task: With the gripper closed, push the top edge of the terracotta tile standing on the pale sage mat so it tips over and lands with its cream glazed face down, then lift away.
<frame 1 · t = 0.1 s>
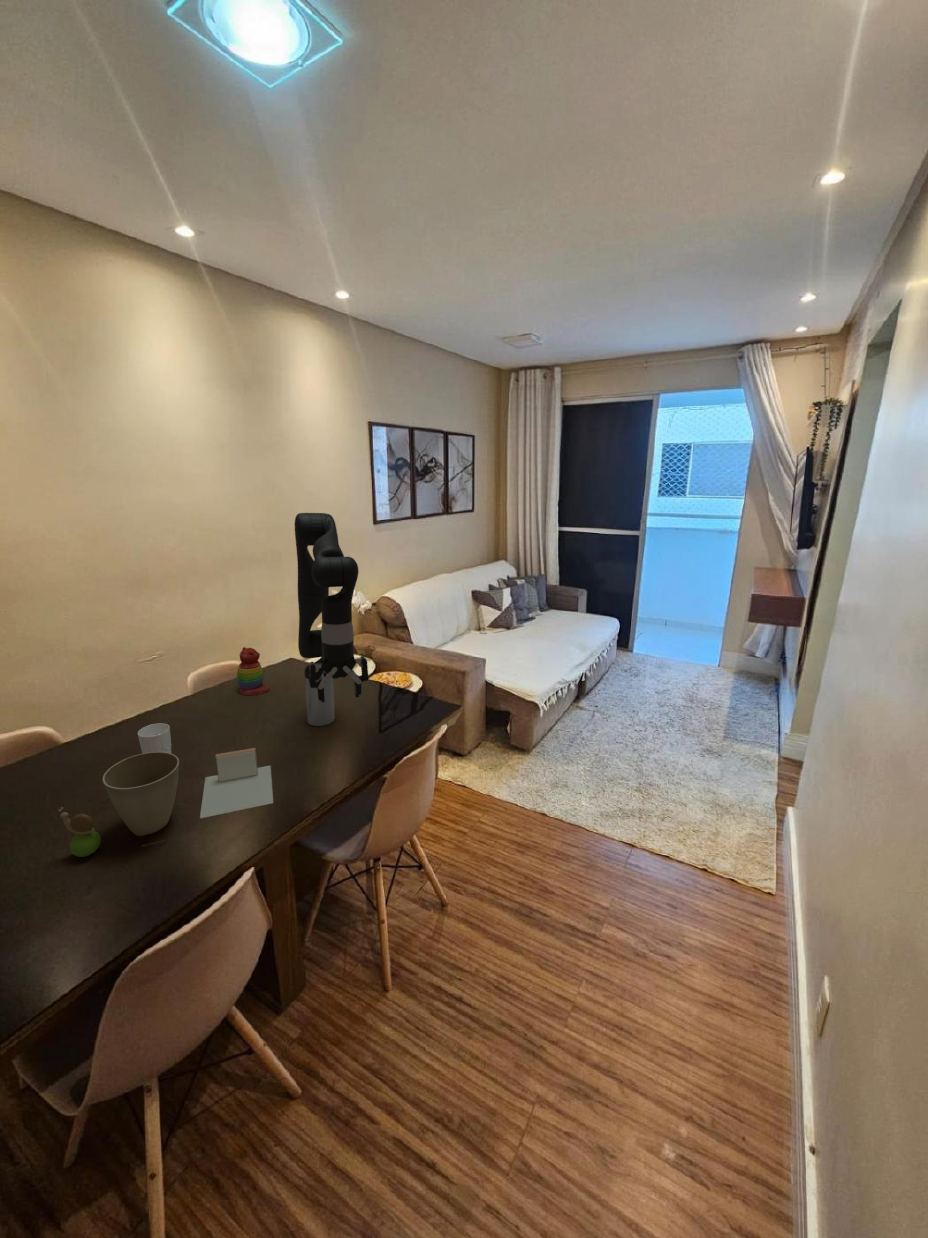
hand: (339, 698, 121), 29 cm above the table, fingers open, 8 cm apart
stacking bear: (252, 690, 189), on the table
tile: (238, 777, 135), point 1 cm above the table, touching mat
snail figurine: (85, 854, 107), on the table
white cup: (158, 760, 142), on the table
mat: (238, 791, 130), on the table
plant pot: (152, 826, 116), on the table
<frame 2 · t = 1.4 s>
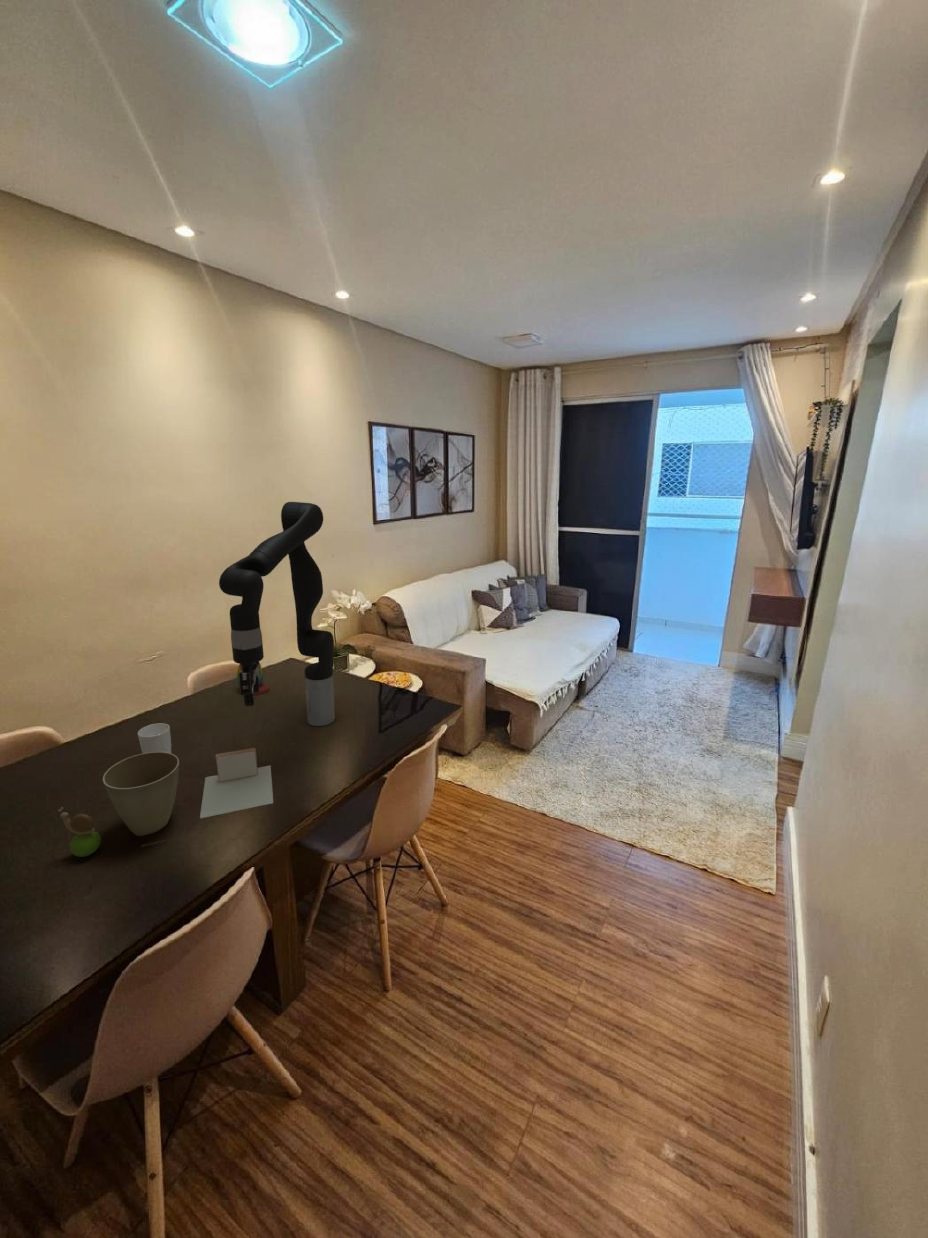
hand: (252, 698, 132), 23 cm above the table, fingers open, 8 cm apart
nothing on the table moved.
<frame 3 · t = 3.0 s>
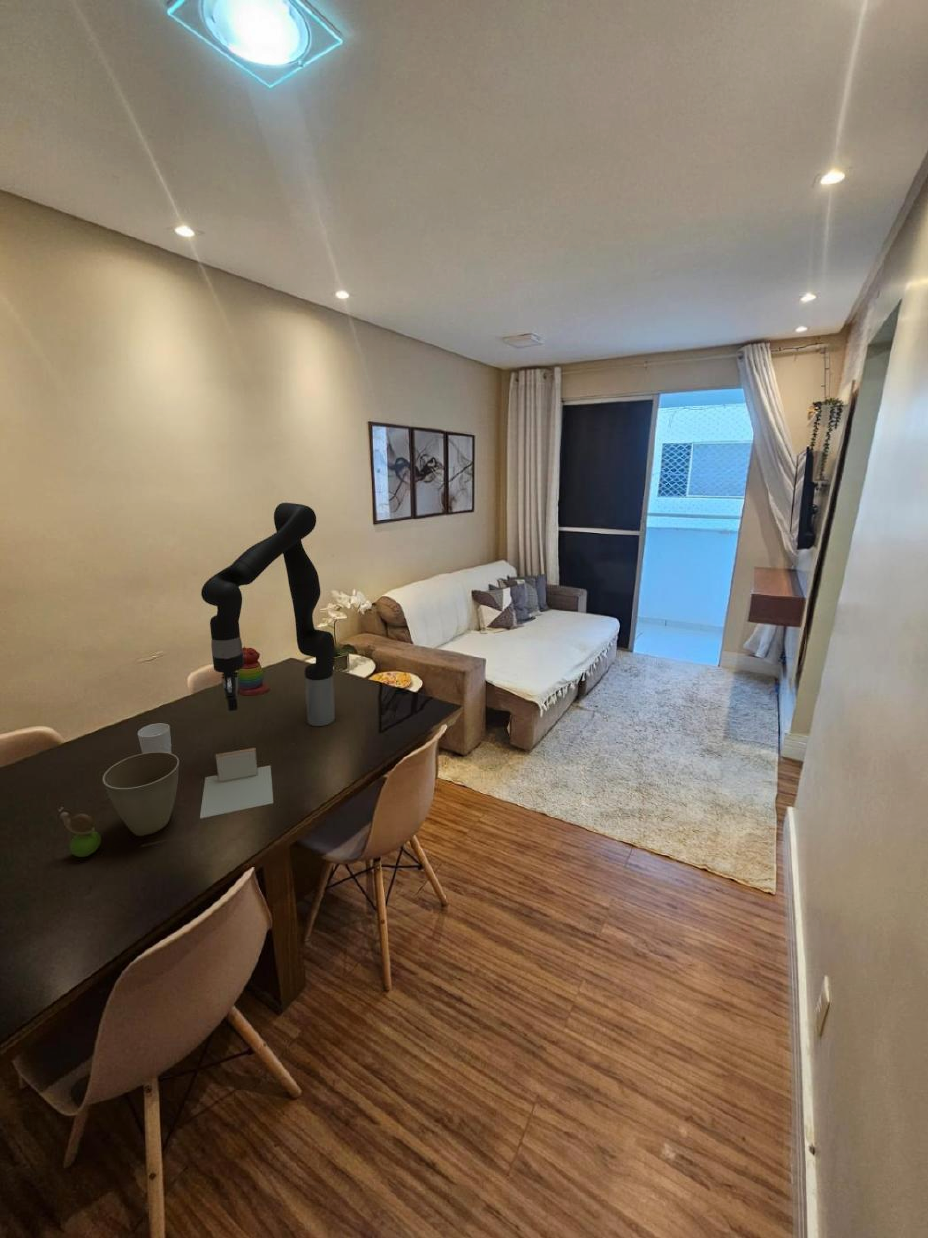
hand: (233, 709, 136), 18 cm above the table, fingers closed
nothing on the table moved.
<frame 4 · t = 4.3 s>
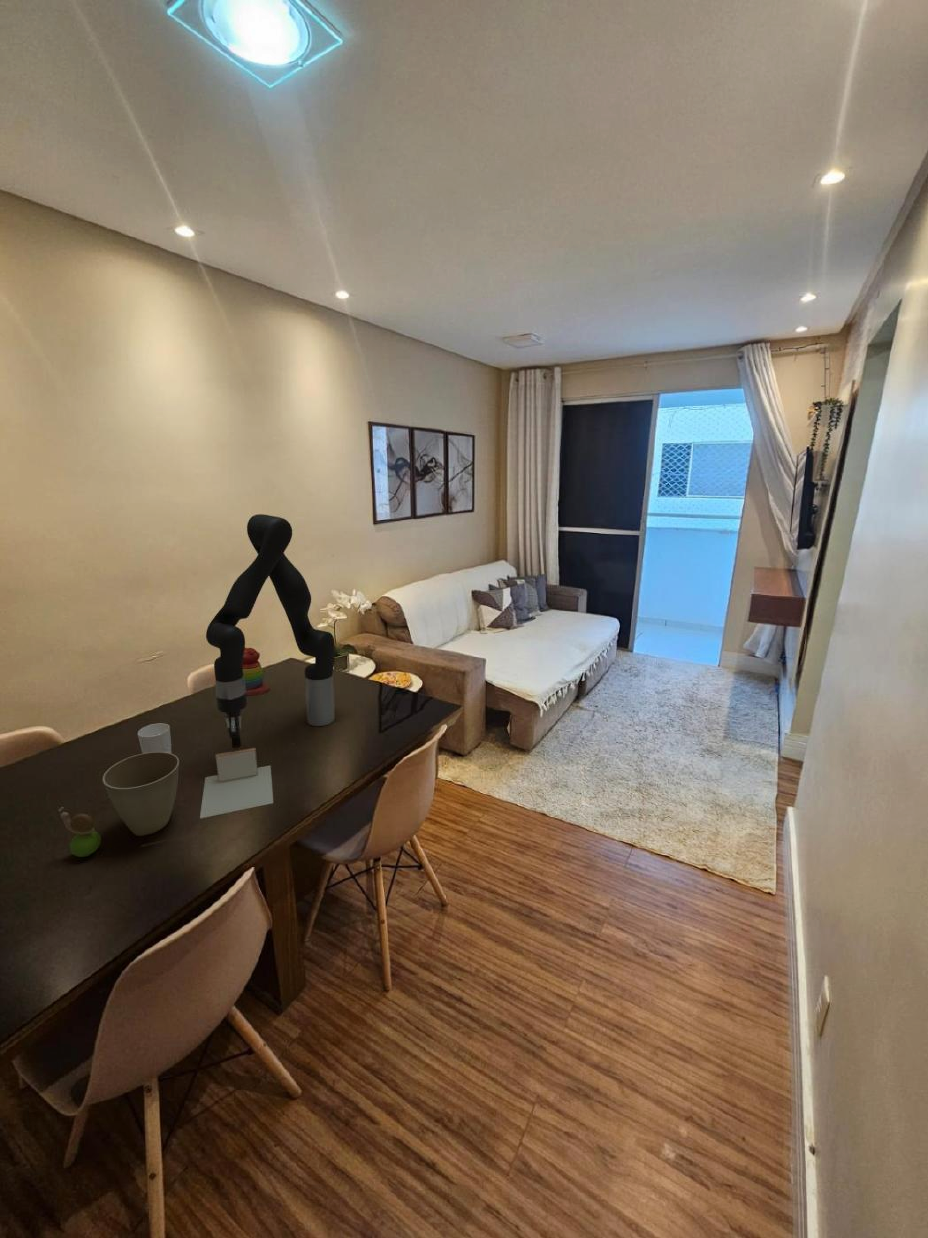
hand: (236, 746, 139), 7 cm above the table, fingers closed
nothing on the table moved.
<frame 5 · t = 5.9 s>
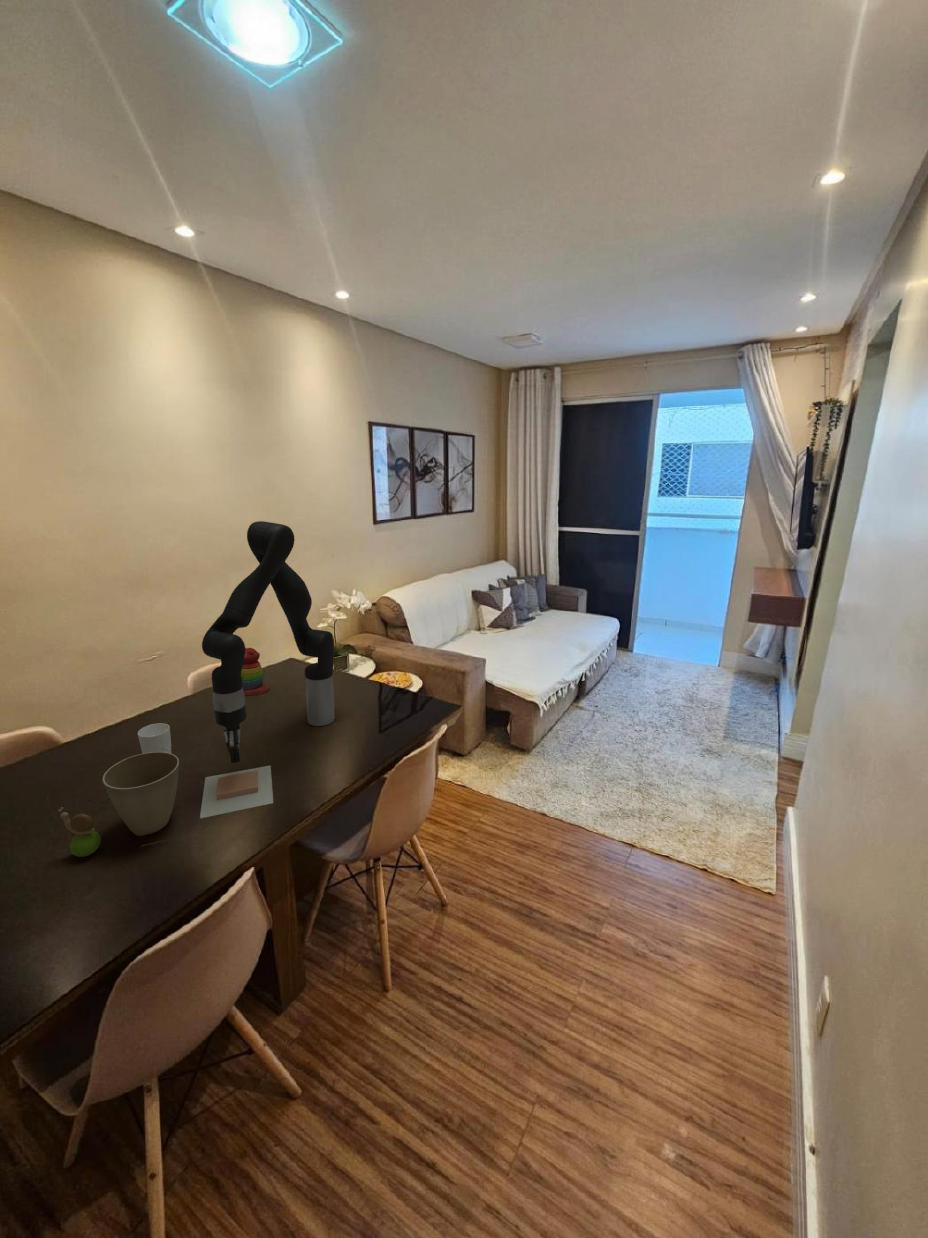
hand: (235, 761, 132), 7 cm above the table, fingers closed
tile: (238, 776, 134), point 1 cm above the table, tilted 90°, touching mat
everything else where it was.
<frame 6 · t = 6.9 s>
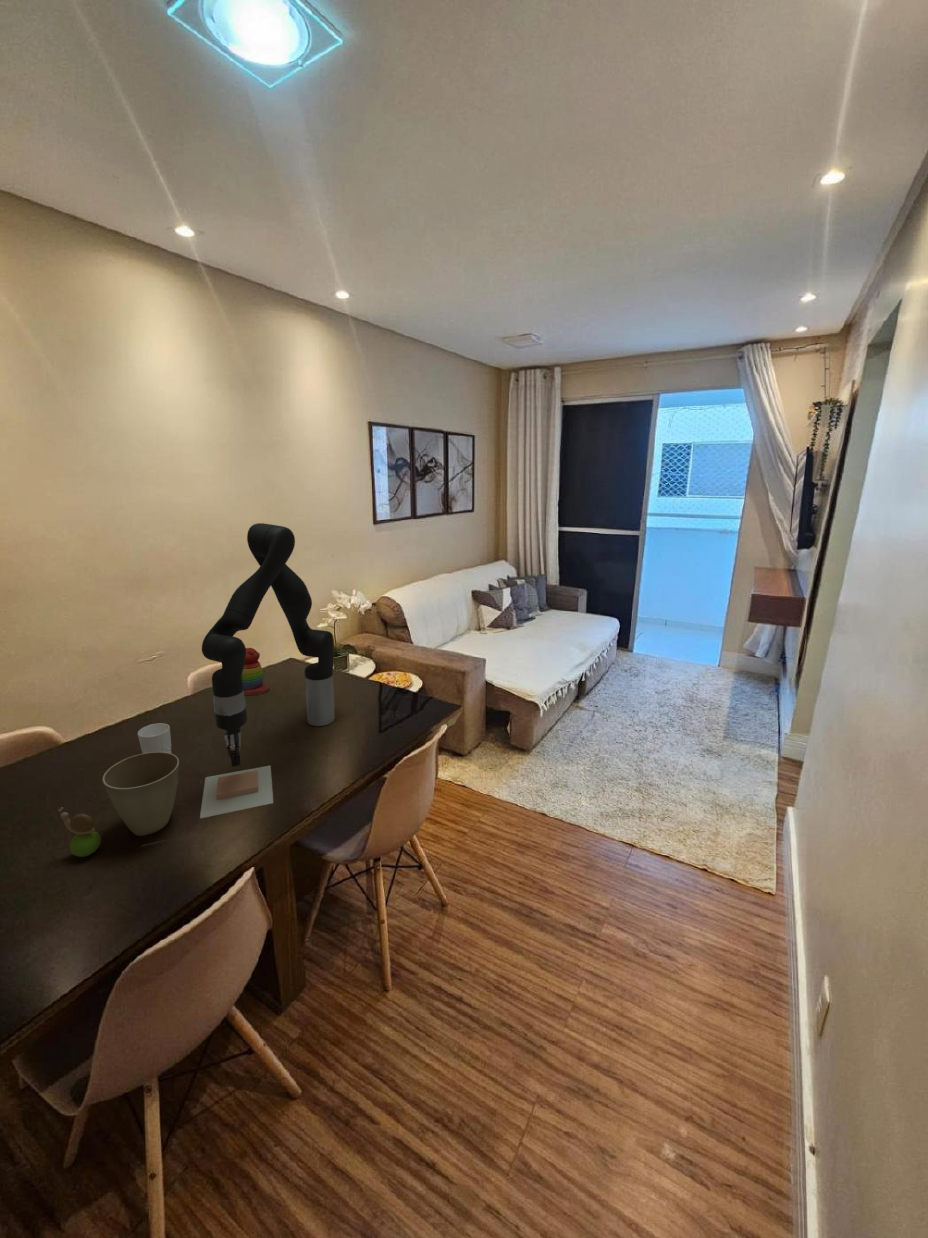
hand: (236, 764, 131), 7 cm above the table, fingers closed
nothing on the table moved.
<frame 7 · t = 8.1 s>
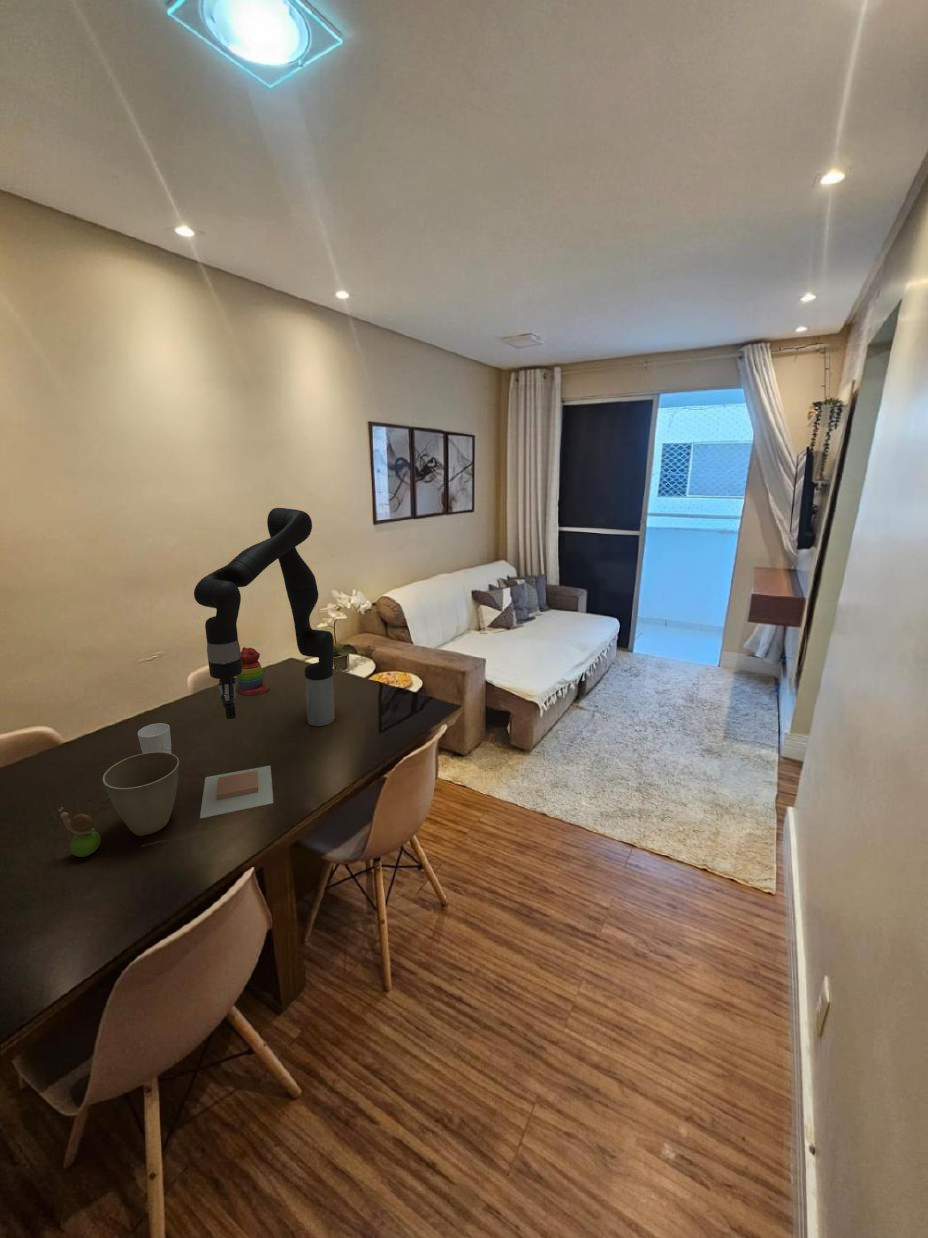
hand: (231, 717, 127), 21 cm above the table, fingers closed
nothing on the table moved.
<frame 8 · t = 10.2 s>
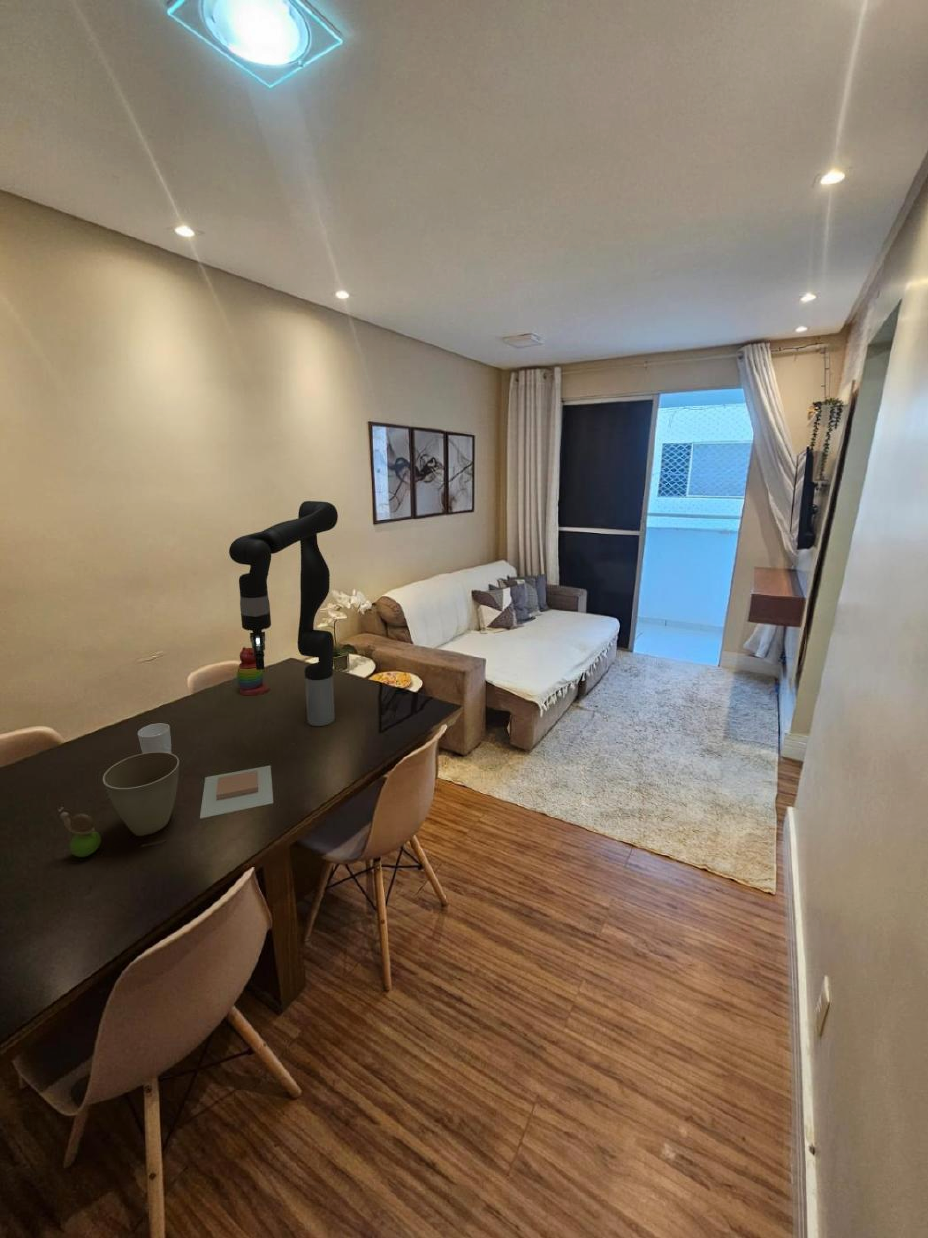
hand: (260, 668, 138), 29 cm above the table, fingers closed
nothing on the table moved.
at the end: tile tilted 90°; tile inside the target area on the mat (3.6 cm from its centre), point 1.5 cm above the mat's base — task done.
